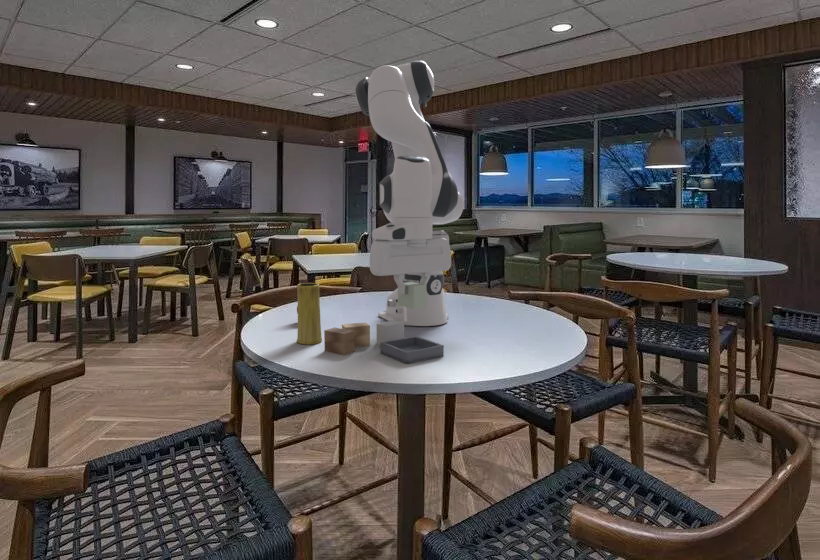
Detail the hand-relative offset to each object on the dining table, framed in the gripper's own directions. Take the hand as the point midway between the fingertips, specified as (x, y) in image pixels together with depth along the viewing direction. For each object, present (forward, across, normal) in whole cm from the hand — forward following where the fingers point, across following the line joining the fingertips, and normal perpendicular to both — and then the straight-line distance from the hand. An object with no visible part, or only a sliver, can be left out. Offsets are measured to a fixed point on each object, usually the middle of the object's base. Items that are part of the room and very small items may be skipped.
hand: (412, 293), depth 115 cm
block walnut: (+14, +12, -12) cm, 22 cm away
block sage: (+3, 0, 0) cm, 3 cm away
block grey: (+14, -2, -12) cm, 19 cm away
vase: (+14, +14, -24) cm, 31 cm away
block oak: (+14, +6, -15) cm, 21 cm away
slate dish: (+14, 0, 0) cm, 14 cm away
